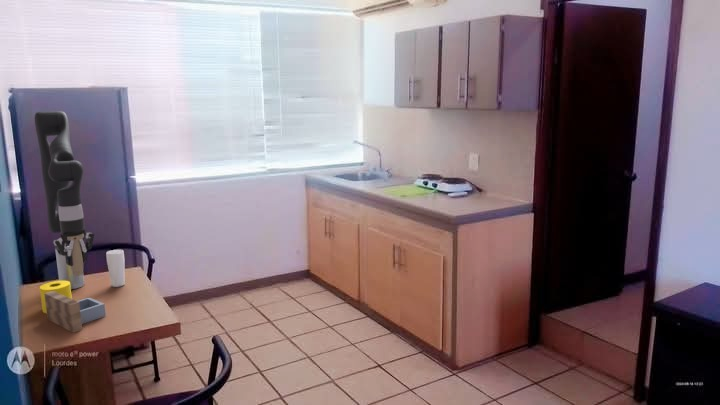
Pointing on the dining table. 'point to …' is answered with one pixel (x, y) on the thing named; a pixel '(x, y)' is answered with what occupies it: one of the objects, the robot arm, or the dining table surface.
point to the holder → (91, 309)
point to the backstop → (63, 311)
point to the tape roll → (56, 286)
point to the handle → (76, 255)
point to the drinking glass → (116, 267)
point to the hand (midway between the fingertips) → (76, 263)
